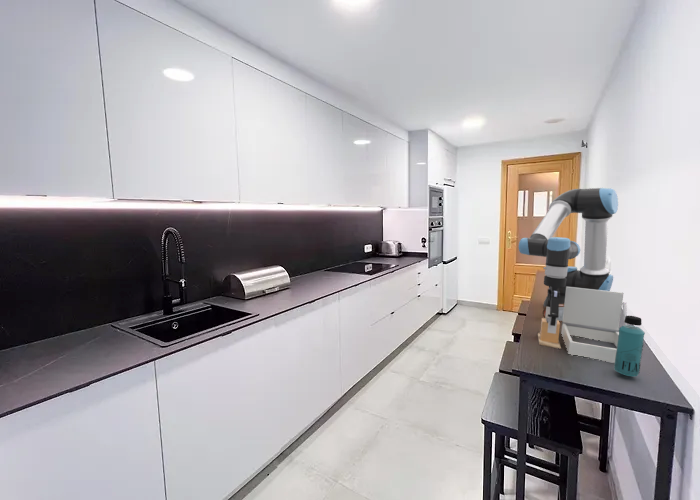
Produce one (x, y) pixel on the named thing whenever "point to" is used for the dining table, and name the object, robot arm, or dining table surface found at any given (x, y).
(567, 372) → the dining table surface
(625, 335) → the beverage bottle
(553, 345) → the metal plate
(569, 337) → the equipment case
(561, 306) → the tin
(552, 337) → the tan and grey block
